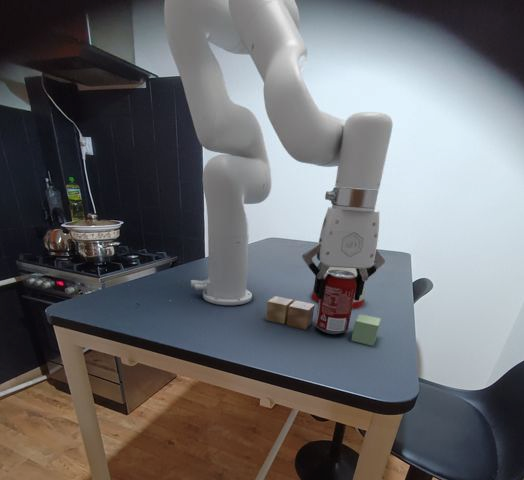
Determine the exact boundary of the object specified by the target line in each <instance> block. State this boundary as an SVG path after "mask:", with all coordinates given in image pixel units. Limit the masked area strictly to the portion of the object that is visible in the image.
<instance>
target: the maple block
mask: <svg viewBox="0 0 524 480" xmlns="http://www.w3.org/2000/svg"><path fill="white" fill-rule="evenodd" d="M293 302H294V299H291V298H286V297H281V296H276V295H275V296H272V298H270V299H269V300H267V303H266V305H267V306H266V317H265V320H266V321H269V322H273V323H277V324H281V325H285V324H287V319H288V310H289V306H290V305H291V304H292V303H293Z"/></svg>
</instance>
